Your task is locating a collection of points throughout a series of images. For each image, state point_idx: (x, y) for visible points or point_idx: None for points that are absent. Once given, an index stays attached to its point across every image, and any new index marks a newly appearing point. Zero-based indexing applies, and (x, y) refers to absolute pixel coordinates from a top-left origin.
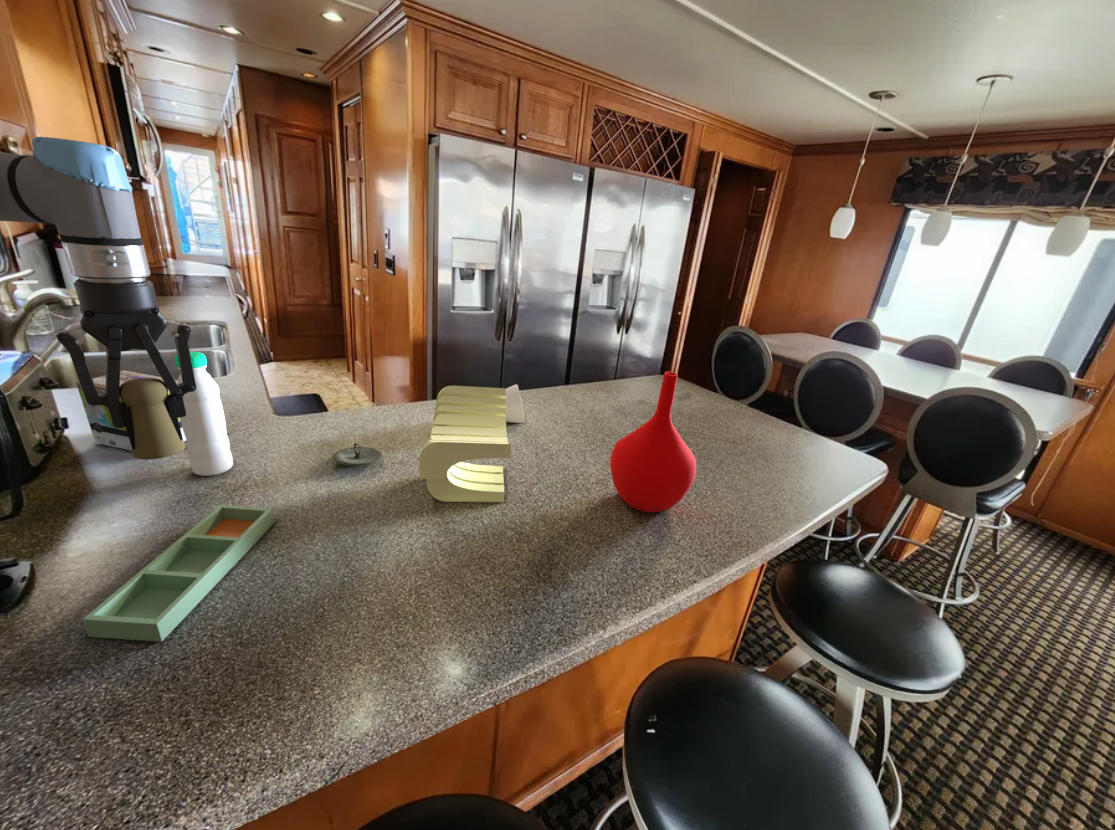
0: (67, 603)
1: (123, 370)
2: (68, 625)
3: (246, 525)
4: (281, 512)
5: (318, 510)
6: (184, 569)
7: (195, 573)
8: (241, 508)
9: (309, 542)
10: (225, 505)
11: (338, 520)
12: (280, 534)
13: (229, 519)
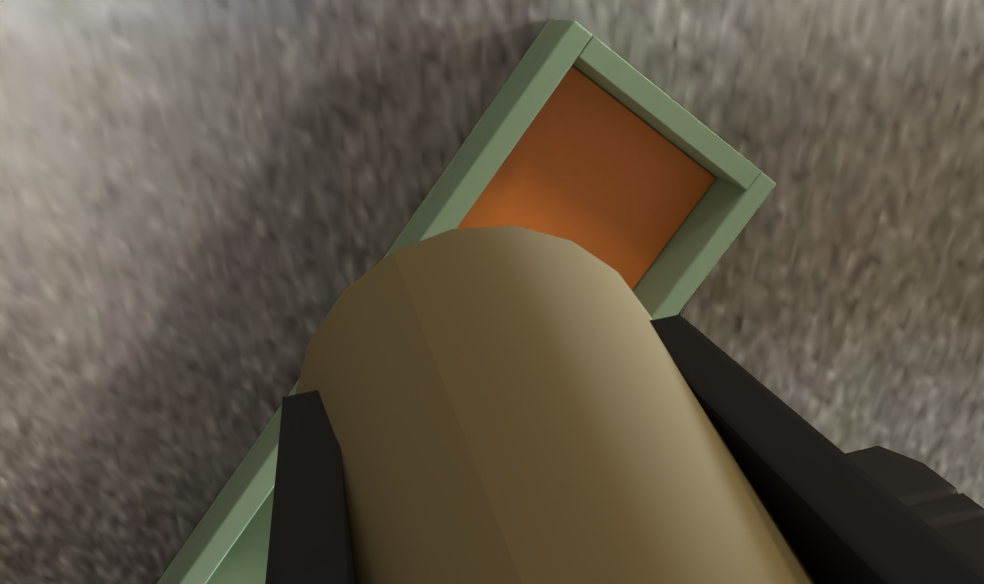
0: (31, 397)
1: None
2: (73, 516)
3: (638, 170)
4: (781, 88)
5: (914, 148)
6: None
7: None
8: (659, 113)
9: (812, 373)
10: (596, 43)
11: (950, 267)
12: (737, 271)
13: (580, 78)
